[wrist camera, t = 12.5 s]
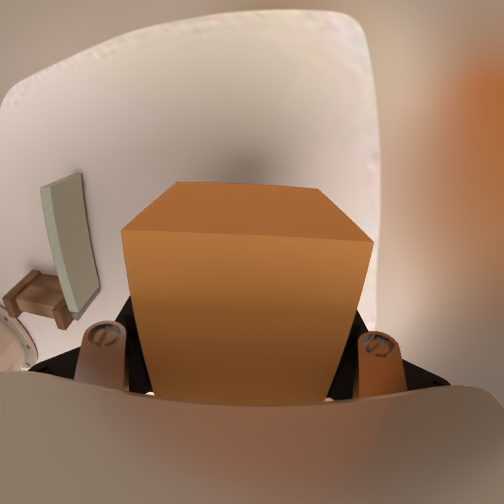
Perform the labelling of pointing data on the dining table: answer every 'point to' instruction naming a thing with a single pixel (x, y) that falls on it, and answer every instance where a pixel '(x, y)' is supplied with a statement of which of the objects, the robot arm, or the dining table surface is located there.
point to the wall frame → (39, 299)
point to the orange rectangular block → (244, 291)
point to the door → (70, 242)
